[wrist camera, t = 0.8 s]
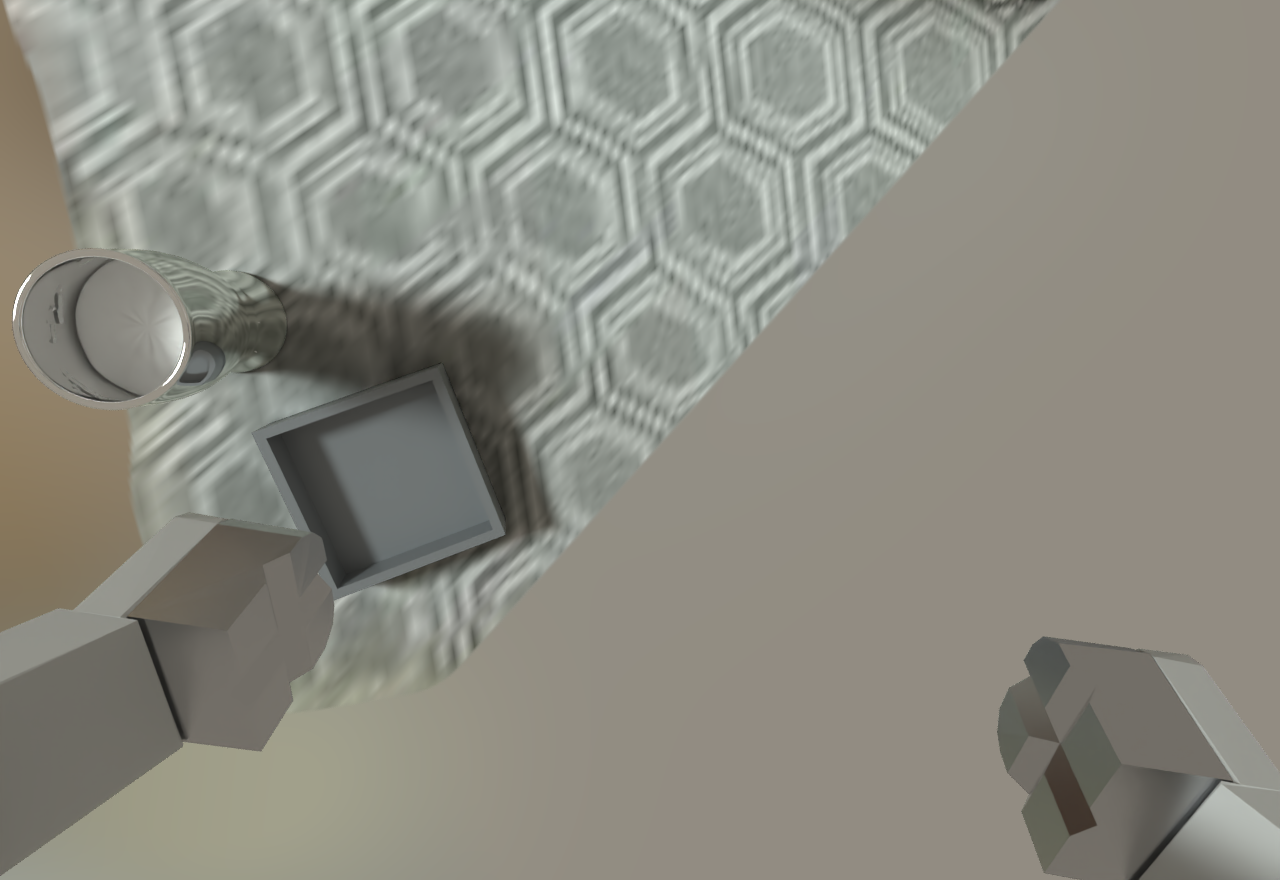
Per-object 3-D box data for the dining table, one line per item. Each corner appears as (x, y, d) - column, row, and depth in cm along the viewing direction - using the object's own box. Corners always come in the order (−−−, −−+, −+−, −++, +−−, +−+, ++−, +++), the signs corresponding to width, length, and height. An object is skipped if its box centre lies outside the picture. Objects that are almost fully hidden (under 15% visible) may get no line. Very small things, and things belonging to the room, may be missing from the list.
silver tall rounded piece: (187, 387, 44) (34, 427, 30) (156, 271, 43) (-20, 254, 29) (306, 370, 46) (215, 401, 31) (280, 255, 44) (171, 232, 30)
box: (270, 423, 46) (251, 432, 42) (442, 362, 47) (437, 367, 44) (344, 580, 48) (331, 601, 45) (505, 518, 49) (505, 534, 46)
